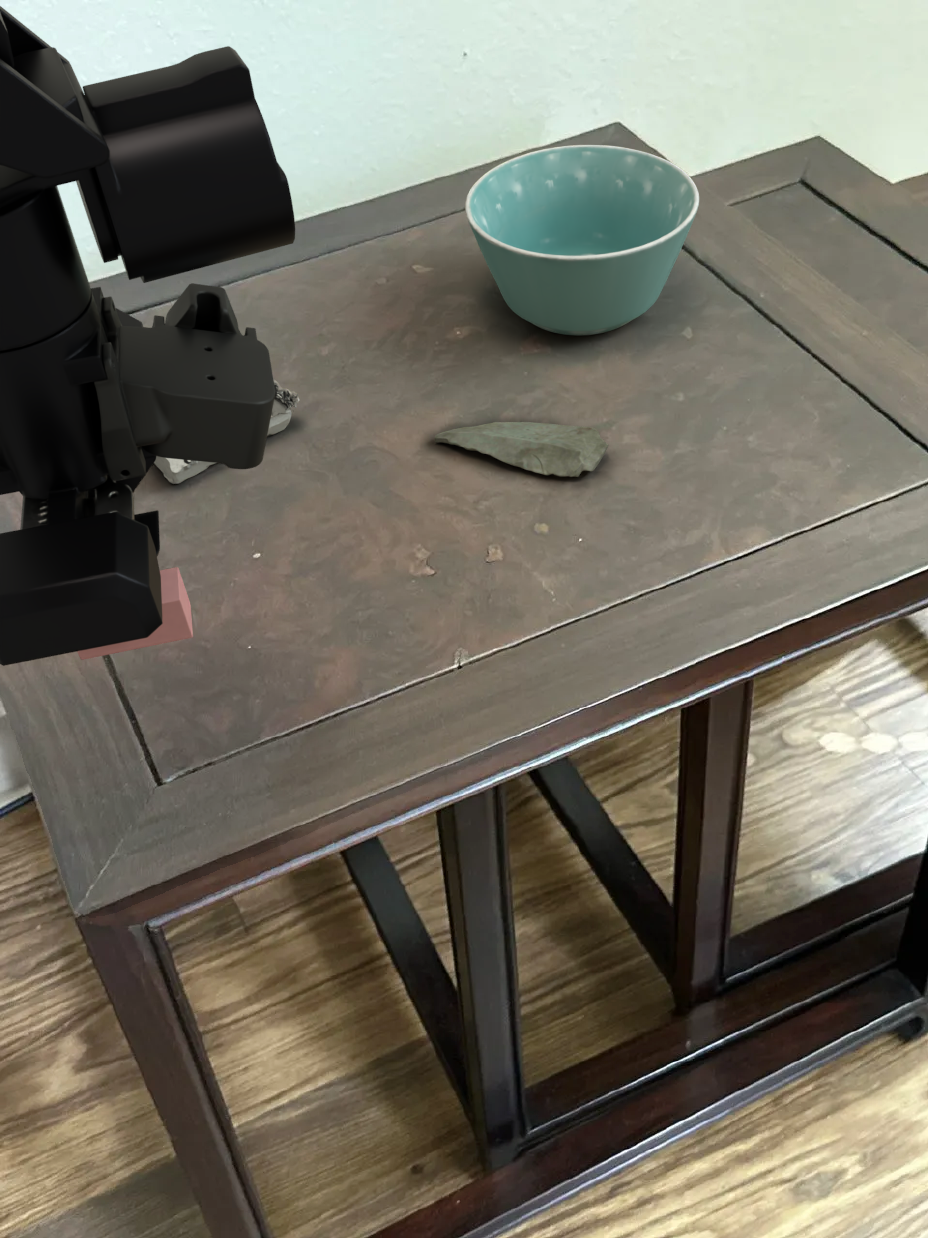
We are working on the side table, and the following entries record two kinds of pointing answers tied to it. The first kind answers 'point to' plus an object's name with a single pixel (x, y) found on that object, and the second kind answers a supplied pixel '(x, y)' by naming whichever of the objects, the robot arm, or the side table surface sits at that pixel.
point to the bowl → (582, 233)
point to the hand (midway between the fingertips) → (129, 616)
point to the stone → (533, 445)
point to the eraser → (173, 618)
